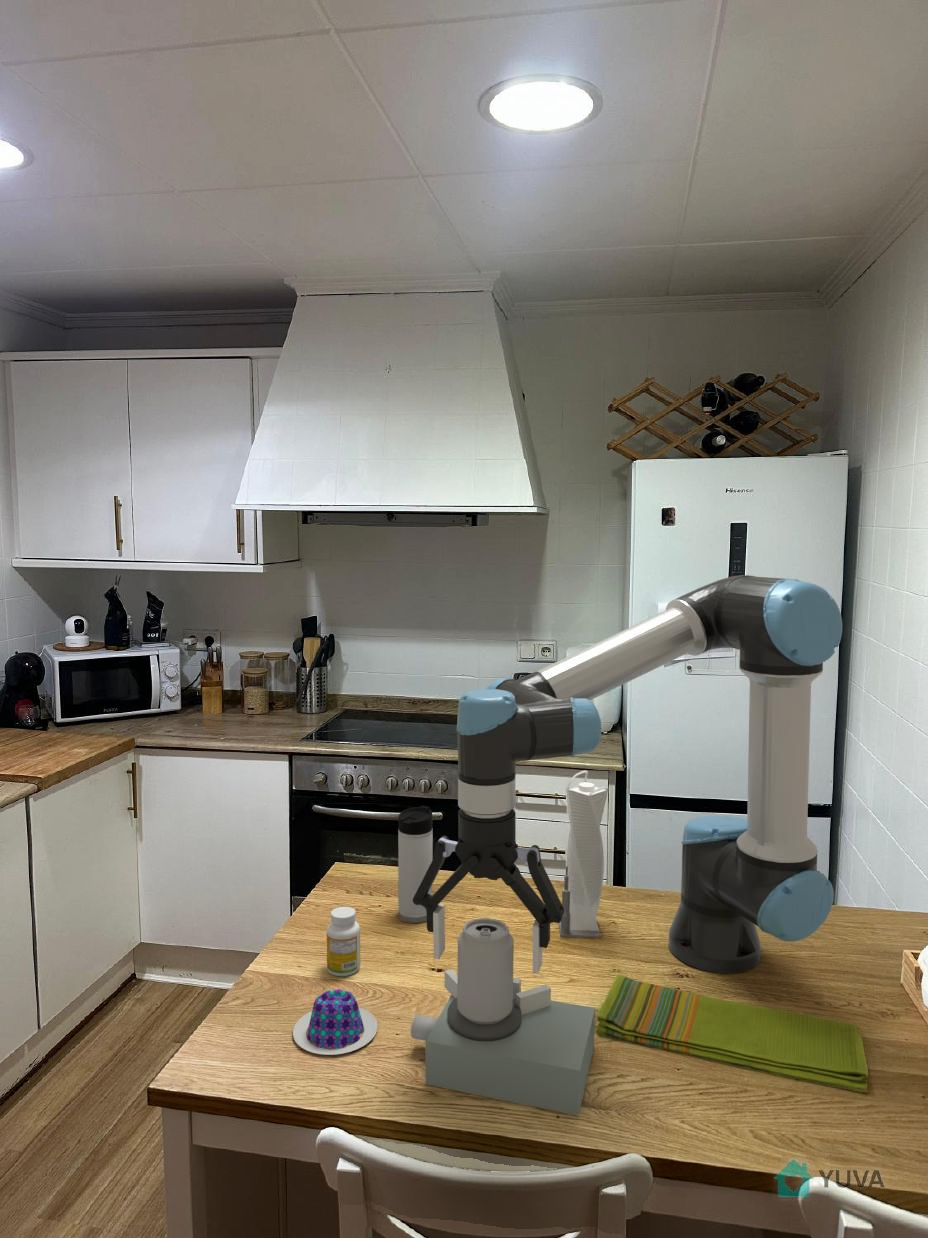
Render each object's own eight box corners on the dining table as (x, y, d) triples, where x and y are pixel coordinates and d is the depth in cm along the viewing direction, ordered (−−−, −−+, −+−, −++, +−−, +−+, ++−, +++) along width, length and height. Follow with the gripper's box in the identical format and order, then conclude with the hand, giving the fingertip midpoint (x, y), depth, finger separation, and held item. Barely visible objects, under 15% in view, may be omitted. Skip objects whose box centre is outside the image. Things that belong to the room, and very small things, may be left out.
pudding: (382, 1010, 127) (382, 977, 126) (370, 1061, 115) (370, 1025, 114) (303, 1008, 127) (303, 975, 127) (283, 1058, 115) (282, 1022, 115)
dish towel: (613, 984, 135) (614, 965, 135) (859, 1033, 123) (860, 1012, 122) (593, 1038, 121) (594, 1017, 120) (869, 1100, 108) (871, 1077, 108)
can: (513, 998, 117) (515, 916, 116) (511, 1030, 110) (512, 943, 109) (460, 994, 118) (460, 913, 117) (454, 1026, 111) (454, 939, 109)
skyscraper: (557, 914, 157) (560, 768, 154) (601, 916, 157) (605, 769, 154) (560, 937, 149) (564, 783, 146) (606, 938, 149) (611, 784, 145)
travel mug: (439, 912, 158) (440, 809, 155) (419, 927, 152) (419, 819, 150) (412, 904, 161) (412, 803, 159) (391, 918, 155) (391, 813, 153)
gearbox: (593, 1048, 118) (595, 991, 117) (578, 1116, 104) (580, 1051, 103) (430, 1018, 124) (430, 964, 123) (396, 1078, 111) (396, 1017, 110)
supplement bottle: (336, 957, 141) (336, 902, 140) (365, 963, 140) (365, 907, 138) (321, 973, 136) (320, 916, 135) (351, 980, 135) (350, 922, 133)
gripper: (586, 807, 111) (584, 960, 113) (407, 791, 118) (409, 935, 120) (577, 828, 104) (575, 990, 106) (387, 809, 111) (390, 962, 113)
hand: (487, 961), depth 113 cm, fingers open, 13 cm apart
